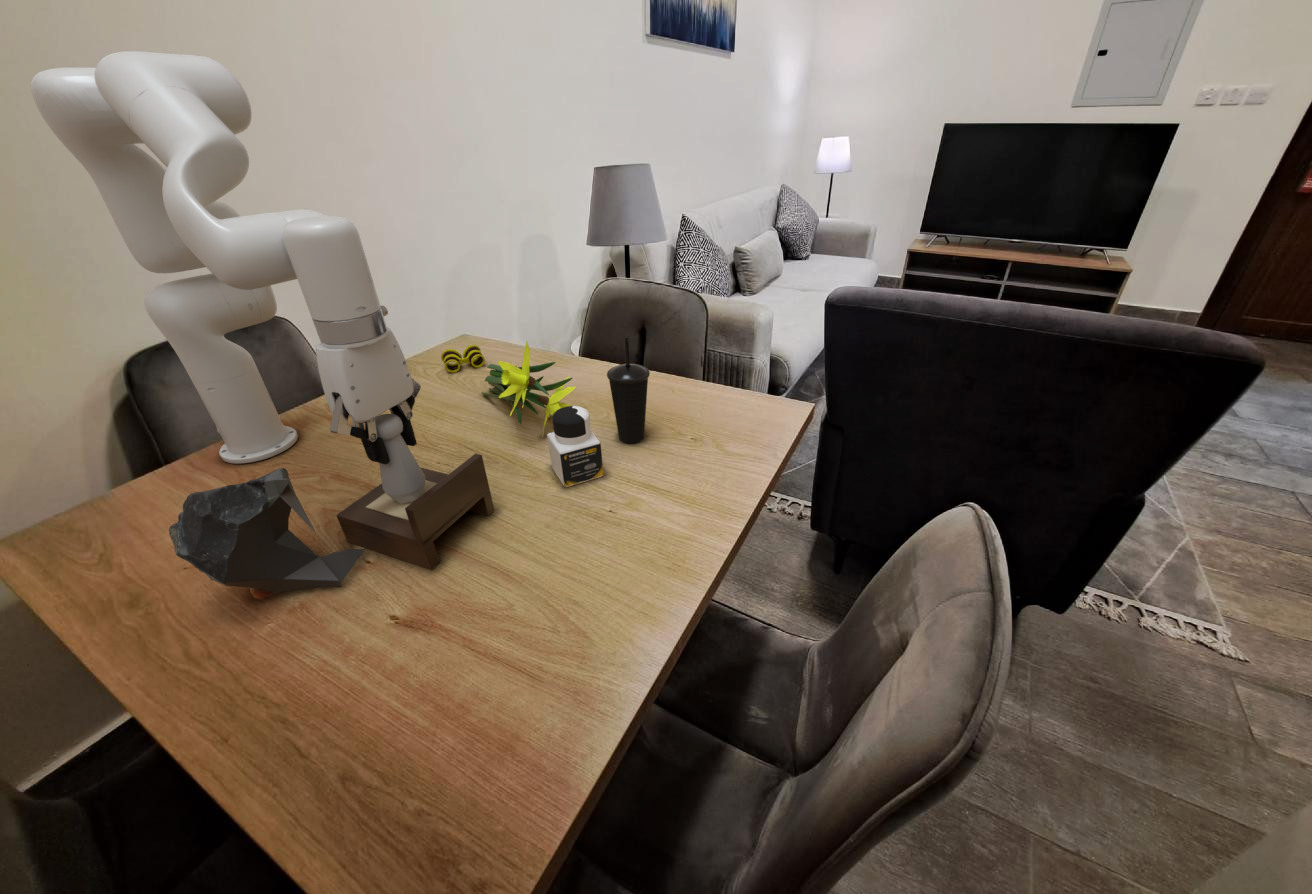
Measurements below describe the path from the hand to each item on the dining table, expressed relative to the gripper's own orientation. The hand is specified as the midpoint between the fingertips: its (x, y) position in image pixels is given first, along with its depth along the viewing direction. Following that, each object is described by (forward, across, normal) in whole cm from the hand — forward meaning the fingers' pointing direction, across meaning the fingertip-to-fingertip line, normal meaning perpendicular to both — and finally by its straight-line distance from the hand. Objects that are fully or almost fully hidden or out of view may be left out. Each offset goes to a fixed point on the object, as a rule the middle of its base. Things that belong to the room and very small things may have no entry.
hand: (393, 451), depth 74 cm
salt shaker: (+8, 0, 0) cm, 8 cm away
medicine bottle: (+13, -21, +16) cm, 30 cm away
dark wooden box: (+13, 0, +1) cm, 13 cm away
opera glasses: (+14, -52, -34) cm, 64 cm away
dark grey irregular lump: (+14, +16, -8) cm, 22 cm away
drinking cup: (+13, -35, +20) cm, 43 cm away
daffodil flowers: (+13, -35, -6) cm, 38 cm away
